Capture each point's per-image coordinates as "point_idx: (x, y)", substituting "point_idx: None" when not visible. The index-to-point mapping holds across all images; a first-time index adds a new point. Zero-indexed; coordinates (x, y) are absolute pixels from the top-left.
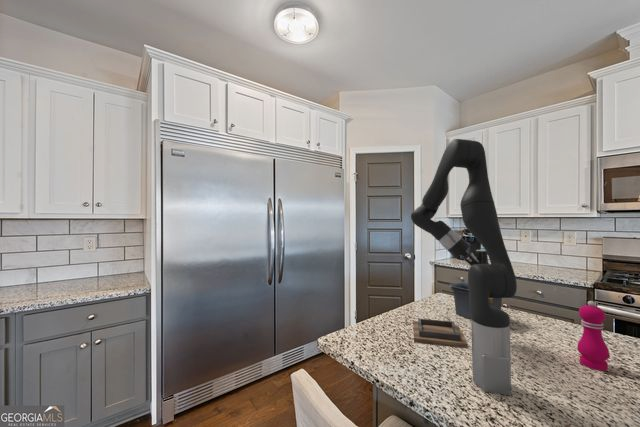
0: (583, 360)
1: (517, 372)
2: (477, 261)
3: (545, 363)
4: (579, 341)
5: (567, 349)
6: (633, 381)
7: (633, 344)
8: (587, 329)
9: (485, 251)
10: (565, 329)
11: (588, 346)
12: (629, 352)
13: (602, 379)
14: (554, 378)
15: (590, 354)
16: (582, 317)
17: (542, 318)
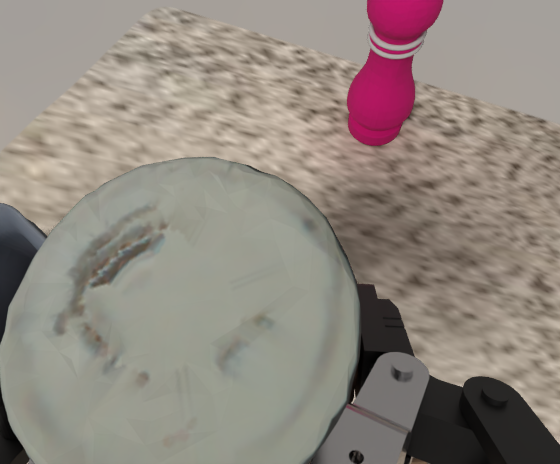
0: (389, 136)
1: (533, 314)
2: (400, 454)
3: (421, 224)
4: (382, 107)
5: (289, 147)
6: (425, 84)
7: (199, 16)
8: (408, 59)
9: (328, 228)
10: (126, 110)
11: (409, 99)
12: (255, 38)
13: (450, 132)
14: (511, 228)
15: (410, 111)
16: (415, 35)
17: (32, 140)
